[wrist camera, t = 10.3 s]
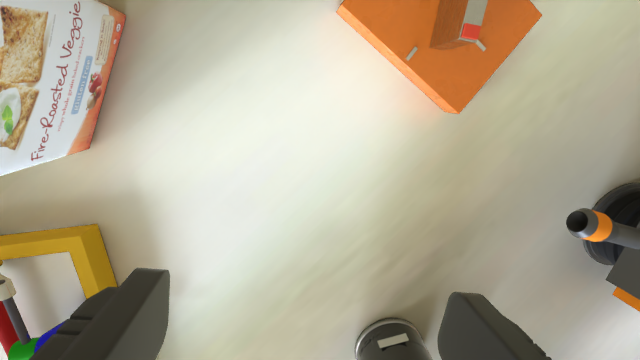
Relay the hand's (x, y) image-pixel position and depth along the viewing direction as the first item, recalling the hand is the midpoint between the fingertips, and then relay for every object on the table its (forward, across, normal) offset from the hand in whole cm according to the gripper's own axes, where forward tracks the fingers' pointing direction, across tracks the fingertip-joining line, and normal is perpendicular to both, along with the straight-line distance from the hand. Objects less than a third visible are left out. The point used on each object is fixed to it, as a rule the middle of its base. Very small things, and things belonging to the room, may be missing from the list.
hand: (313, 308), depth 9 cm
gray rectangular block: (+24, -12, -15) cm, 31 cm away
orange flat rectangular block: (+27, -12, -16) cm, 33 cm away
